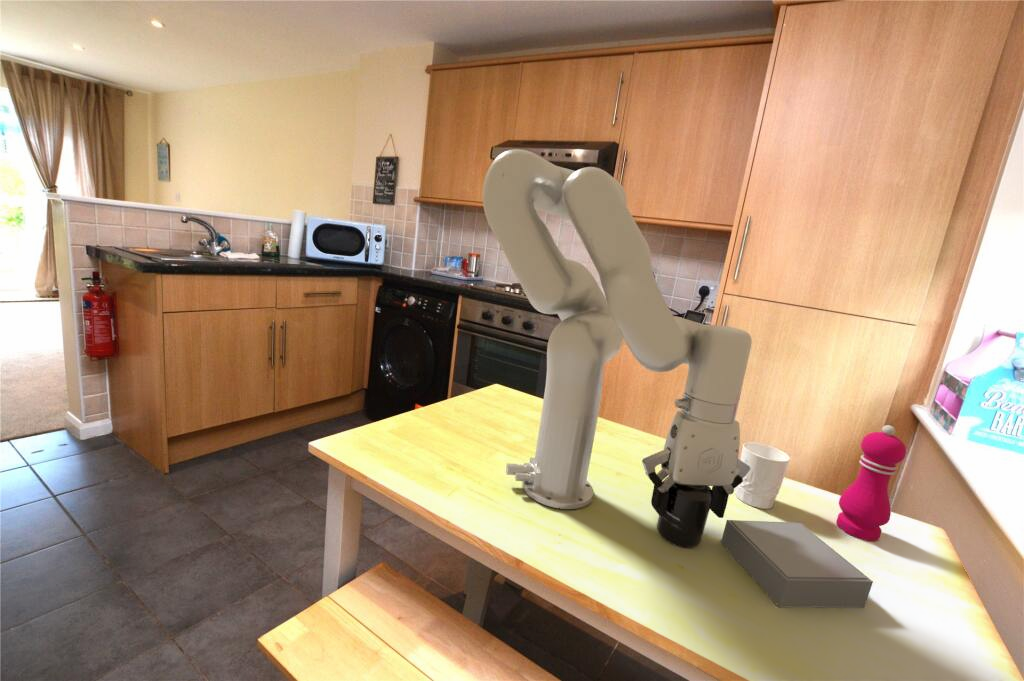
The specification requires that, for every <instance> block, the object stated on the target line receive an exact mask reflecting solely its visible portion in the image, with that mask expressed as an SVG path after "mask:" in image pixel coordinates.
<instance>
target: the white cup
mask: <svg viewBox="0 0 1024 681" xmlns="http://www.w3.org/2000/svg"><path fill="white" fill-rule="evenodd" d="M739 459H740V460H741V461H743V462H744V463H746V464H747V465H748V466H750V470H749V472H748V473H747V474H746V476H745V477H744V478H743V481H742V483H741V484H739V485H738V486H737V487H736V488H734V495H735V497H736V498H737V499H738V500H739V501H741V502H743V503H745V504H747V505H749V506H750V507H754V508H757V509H762V510H763V509H764V510H769V509H772V508H773V507H774V504H775V502H776V498H777V496H778V495H779V492H780V489H781V487H782V484H783V481H784V478H785V475H786V472H787V469H788V467H789V464H790V460H791V457H790V456H789V455H788V454H787V453H786V452H784V451H782V450H780V449H779V448H776V447H774V446H770V445H769V444H763V443H758V442H753V441H752V442H744V443H743V444H742V448H741V453H740V458H739Z"/></svg>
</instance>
